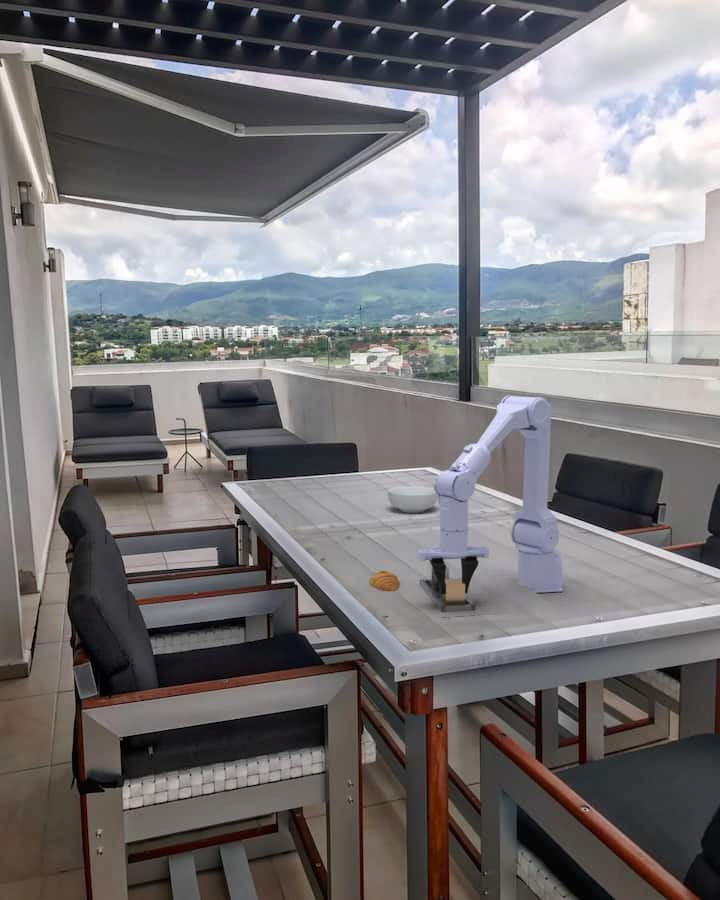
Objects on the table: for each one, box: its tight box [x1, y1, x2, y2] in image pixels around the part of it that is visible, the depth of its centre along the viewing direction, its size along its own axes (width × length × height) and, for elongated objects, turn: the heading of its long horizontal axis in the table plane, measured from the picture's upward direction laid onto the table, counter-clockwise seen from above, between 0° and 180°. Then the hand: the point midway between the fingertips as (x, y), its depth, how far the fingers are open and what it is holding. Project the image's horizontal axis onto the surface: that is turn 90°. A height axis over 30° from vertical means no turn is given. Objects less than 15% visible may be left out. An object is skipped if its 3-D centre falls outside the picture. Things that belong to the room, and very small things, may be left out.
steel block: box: [426, 562, 450, 592], centre depth 182 cm, size 4×6×5 cm
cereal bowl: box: [387, 485, 438, 514], centre depth 274 cm, size 17×17×7 cm
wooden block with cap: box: [442, 577, 466, 606], centre depth 171 cm, size 4×6×5 cm
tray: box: [419, 577, 476, 619], centre depth 176 cm, size 7×20×2 cm, turn 9°
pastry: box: [368, 570, 401, 592], centre depth 185 cm, size 9×7×4 cm
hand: (453, 592), depth 170 cm, fingers open, 4 cm apart
